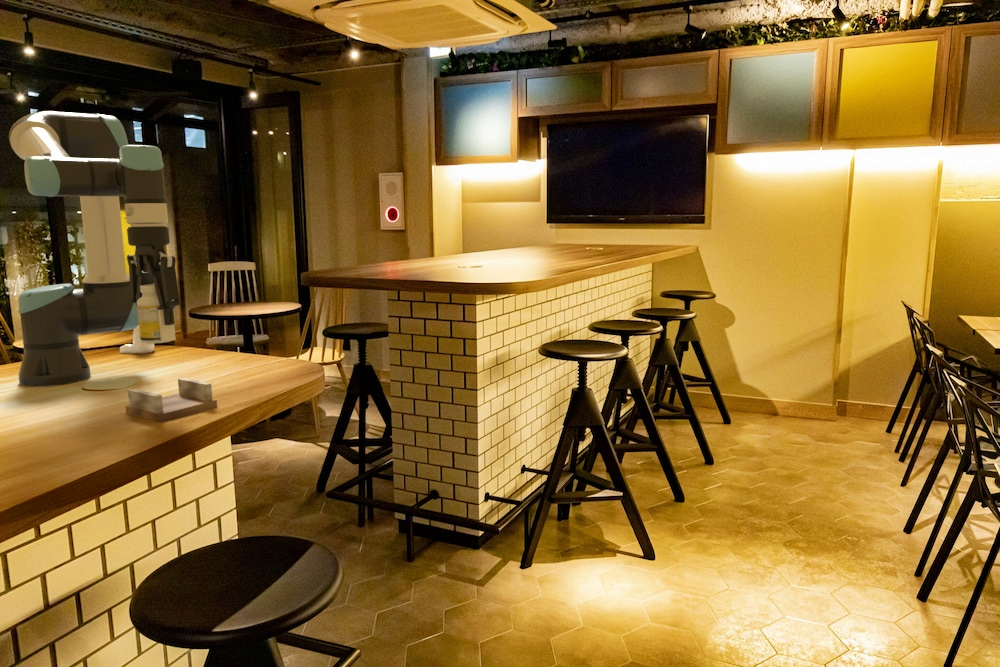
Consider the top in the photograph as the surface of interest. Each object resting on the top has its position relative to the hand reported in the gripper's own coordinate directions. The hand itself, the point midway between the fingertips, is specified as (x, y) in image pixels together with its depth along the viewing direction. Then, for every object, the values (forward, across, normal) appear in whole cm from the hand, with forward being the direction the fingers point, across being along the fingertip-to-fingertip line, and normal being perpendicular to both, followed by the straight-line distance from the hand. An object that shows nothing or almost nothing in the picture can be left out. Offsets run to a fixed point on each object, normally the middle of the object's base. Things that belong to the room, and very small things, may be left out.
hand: (158, 339), depth 146 cm
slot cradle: (+15, 0, +1) cm, 15 cm away
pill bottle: (+1, 0, 0) cm, 1 cm away
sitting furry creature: (+15, -67, +33) cm, 76 cm away
